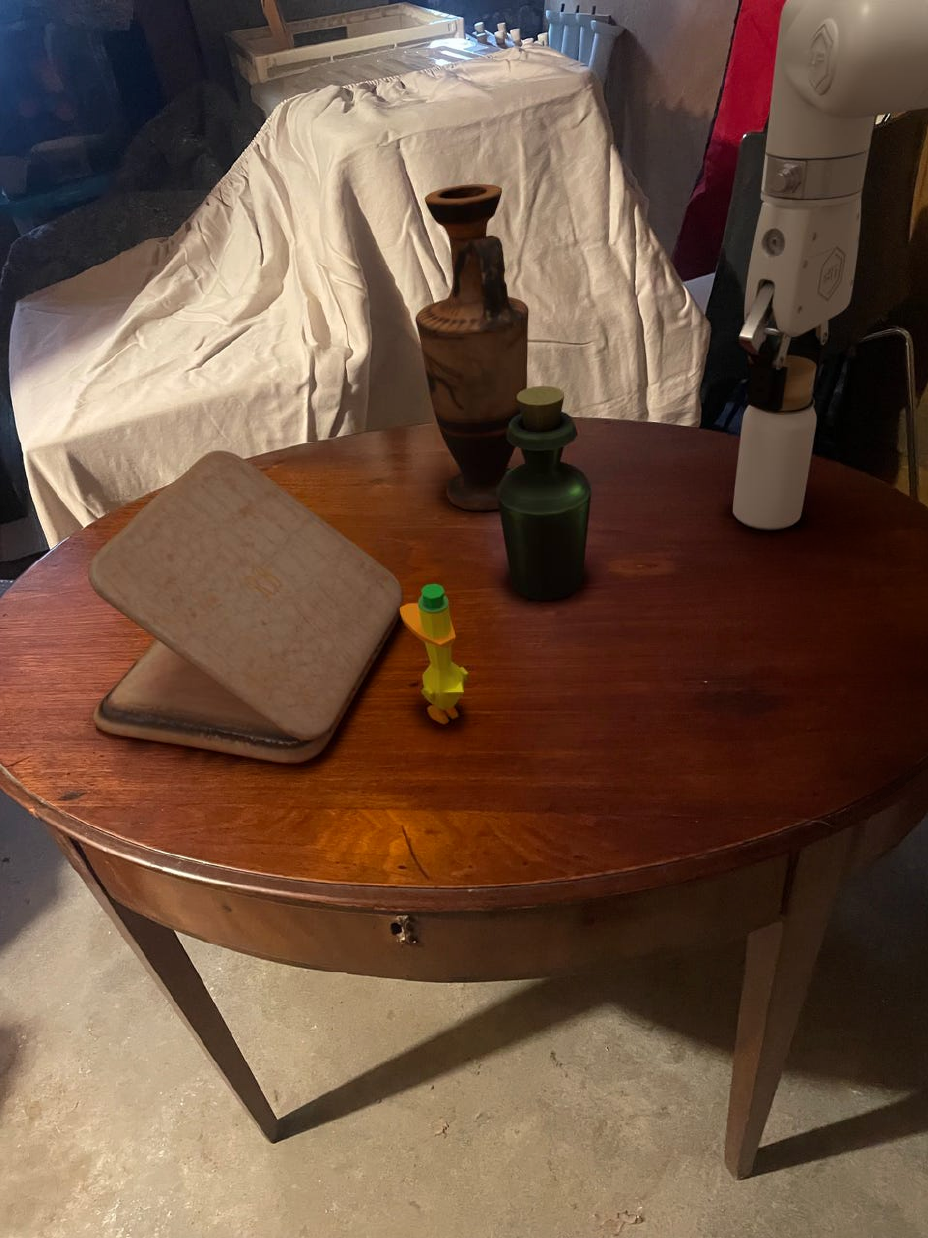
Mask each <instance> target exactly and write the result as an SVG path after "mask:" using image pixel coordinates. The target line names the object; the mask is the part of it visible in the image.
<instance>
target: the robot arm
mask: <svg viewBox="0 0 928 1238" xmlns="http://www.w3.org/2000/svg"><path fill="white" fill-rule="evenodd" d="M779 18H780V19H779V26H778V36H777V44H776V53H775V61H774V62H775V63H774V71H773V80H772V89H771V90H772V91H771V97H770V98H771V99H770V108H769V116H768V124H767V125H768V127H767V135H766V143H765V144H766V145H765V153H764V163H763V172H762V179H761V180H762V181H761V189H760V190H761V191H760V200H761V201H763V202H762V203H761V208H760V212H759V215H758V220H757V224H756V230H755V233H754V238H753V244H752V249H751V255H750V260H749V266H748V273H747V280H746V288H745V295H744V296H745V297H744V310H743V311H744V313H743V314H744V316H743V317H744V324H743V326H742V328H741V331H740V333H739V335H738V343H739V344H740V345H741V346H742V347H743V348H744V349H745V352H746V353H747V355H748V357H747V361H748V364H750V370H749V378H748V387H747V396H746V404H747V405H748V406H749V405H750V406H754V407H757V408H761V409H765V410H768V411H772V412H778V411H779V410H781V409H782V404H783V397H784V390H785V383H786V376H787V369H788V367H785V366H783V364H784V360H785V357H786V355H794V356H799V357H804V358H807V359H810V360H812V361H813V362H814V363H815V364H816V373H815V379H814V386H813V390H815V389H816V388H817V387H818V383H819V378H820V371H821V365H822V359H823V358H822V357H823V353H824V347H825V346H824V345H825V344H826V343H827V340H828V337H829V325H830V323H831V321H832V320H833V318H834V317H836V316H838V315H839V314H841V313H842V312H843V311H845V310H846V309H847V308H848V306H849V305H850V303H851V300H852V295H853V288H854V283H855V282H854V280H855V274H856V268H857V267H856V266H857V259H858V251H859V243H860V233H861V218H862V193H863V188H864V182H865V176H866V170H867V166H868V165H867V164H868V159H869V153H870V147H871V143H872V135H873V130H874V126H875V125H874V124H875V120H876V117H878V116H884V115H885V116H886V115H894V114H898V113H902V112H910V111H916V110H924V109H928V0H785V2H784V4H783V5H782V9H781V14H780V17H779ZM771 321H773V322H775V324H776V327H773V326H769V322H771ZM767 336H771V337H775V338H777V340H776V345H775V348H774V346H773V344H772V343H771V342H770V341H766V339H767ZM792 338H793V339H792Z"/></svg>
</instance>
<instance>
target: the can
mask: <svg viewBox="0 0 928 1238" xmlns="http://www.w3.org/2000/svg"><path fill="white" fill-rule="evenodd" d="M815 402H816V401H815V399H814V397H813V396H812V398H811V402H810V404H809V405H808V406H806V407H804V408H801V409H798V410H792V411H778V412H772V411H768V410H765V409H761V408H757V407H754V406H750V405H748V406H747V407H746V409H745V411H744V412H743V416H742V421H741V429H740V439H739V446H738V447H739V448H738V455H737V456H738V457H737V464H736V474H735V484H734V494H733V504H732V514H733V516H734V517H735V518H736V519H737V520H738V522H740V523H741V524H742V525H744V526H747V527H749V528H751V529H755V530H761V531H780V530H784V529H787V528H790V527H792V526H793V525H795V524H796V523H797V522H798V521H799V520H800V519H801V516H802V512H803V508H804V507H803V506H804V501H805V495H806V489H807V483H808V477H809V472H810V465H811V458H812V453H813V447H814V440H815V433H816V427H817V421H818V420H817V419H818V418H817V414H816V410H815V408H814V406H815V404H816V403H815Z"/></svg>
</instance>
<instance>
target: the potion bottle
mask: <svg viewBox="0 0 928 1238" xmlns="http://www.w3.org/2000/svg"><path fill="white" fill-rule="evenodd" d="M517 400H518V403H519V407H520V411H521V414H519V415H517V416H515V417H514V418H513V419H512V420H511V422H510V423H509V427H508V430H507V434H506V436H507V441H508V442H509V443H511V444H512V445H513V446H515V448H519V449H520V451H521V454H522V457H523V460H524V463H522V464H519V465H516V466H515V467H514V468H511V469H512V470H510V471H508V472H507V473H506V474H505V476H504V477H503V479H502V480H501V482H500V484H499V486H498V488H497V498H498V504H499V509H498V510H499V516H500V522H501V527H502V533H503V534H502V535H503V539H504V540H503V541H504V546H505V552H506V558H507V564H508V570H509V576H510V577H509V578H510V582H511V583H510V584H511V586H512V587H513V589H515V591H517V593H518V594H520V595H522V596H524V597H526V598H528V599H531V600H536V601H554V600H559V599H562V598H565V597H568V596H570V595H571V594H572V593H574V592H575V591H577V589H579V588H580V586H581V583H582V581H583V579H584V578H583V577H584V570H585V569H584V567H585V558H586V548H587V538H588V529H589V519H590V509H591V501H592V500H591V499H592V487H591V485H590V481H589V479H588V478H587V476H586V475H585V473H584V472H583V471H582V470H581V469H579V468H578V467H577V466H575V465H572V464H569V463H567V462H563V461H561V460H562V458H563V457H562V456H563V453H564V449H565V446H567V445H570V444H571V443H573V442H575V440H576V438H577V437H578V436H579V433H578V430H577V427H576V424H575V421H574V419H573V417H572V415H570V414H568V413H567V412H564V411H562V410H563V405H564V402H565V401H564V400H565V392H564V390H562V389H561V388H559V387H555V386H552V385H551V386H550V385H538V386H531V387H527V389H524V390H522V391H521V392H519V393H518V395H517Z"/></svg>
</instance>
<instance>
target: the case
mask: <svg viewBox="0 0 928 1238" xmlns="http://www.w3.org/2000/svg"><path fill="white" fill-rule="evenodd" d="M87 576H88V581H89V584H90V586H91V588H92V590H93V591H94V592H95V593H96V595H97V596H98V597H100V598H101V599H102V600H103V601H104V602H106V603H107V604H108V605H110V606H111V607H112V608H113V609H115V610H116V611H117V612H119V613H120V614H121V615H123V616H124V617H125V618H127V619H128V620H130V621H131V622H133V623H134V624H136V625H137V626H138V627H140V628H141V629H142V630H144V631H145V632H146V633H148V634H149V635H150V636H152V637H153V638H154V640H153V641H152V642H151V644H149V646H148V647H147V649H146V648H145V650H144V651H143V653H142V654H141V655H140V656H139V657H138V658H137V659H136V660H135V662H134V663H133V664H132V665H131V666H130V667H129V668H128V670H127V671H125V673H124V674H123V675H122V676H121V677H120V678H119V679H118V681H117V682H116V683H115V684H114V685H113V686H112V687H111V689H109V691H107V693H106V694H105V695H104V696H103V697H102V698H101V700H100V701H99V702H98V703H97V705H96V707H95V708H94V710H93V714H92V720H93V723H94V725H95V726H96V727H97V728H98V729H100V730H101V731H103V732H105V733H107V734H112V735H115V736H121V737H128V738H134V739H140V740H144V741H145V740H146V741H152V742H158V743H167V744H171V745H179V746H184V747H191V748H195V749H203V750H208V751H213V752H219V753H224V754H229V755H234V756H241V757H245V758H250V759H255V760H261V761H267V762H272V763H278V764H299V763H303V762H304V763H305V762H307V761H309V760H311V759H312V760H313V758H315V757H317V756H318V755H319V754H321V753H322V751H324V750H325V748H326V747H327V745H328V744H329V742H330V741H331V739H332V737H333V735H334V734H335V732H336V729H337V728H338V726H339V724H340V722H341V721H342V719H343V717H344V715H345V714H346V712H347V710H348V708H349V707H350V705H351V703H352V701H353V699H354V697H355V696H356V694H357V692H358V691H359V688H360V686H361V684H363V681H364V680H365V678H366V677H367V674H368V673H369V671H370V669H371V668H372V666H373V664H374V662H375V661H376V658H377V657H378V655H379V653H380V652H381V651H382V648H383V646H384V644H385V643H386V641H387V640H388V638H389V636H390V635H391V634H392V631H393V630H394V628H395V626H396V624H397V622H398V620H399V617H400V607H402V602H403V588H402V587H401V584H400V582H399V580H398V579H397V577H396V576H395V575H394V574H393V573H392V572H391V571H390V570H389V569H387V568H386V567H385V566H383V565H382V564H381V563H380V562H378V561H377V560H376V559H375V558H373V557H371V556H370V555H369V554H368V553H366V552H365V551H364V550H362V549H361V548H360V547H359V546H357V545H356V544H355V543H353V542H352V540H350V539H348V538H347V537H346V536H345V535H343V534H342V533H341V532H339V531H338V529H337V530H336V529H335V528H334V527H333V526H332V525H330V524H329V523H328V522H326V521H325V520H324V519H323V518H322V517H321V516H319V515H318V514H316V513H315V512H313V511H312V510H311V509H309V507H307V506H306V505H305V504H303V503H301V501H300V500H298V499H297V498H295V497H294V496H293V495H292V494H291V493H289V492H287V490H285V489H284V488H283V487H281V486H280V485H279V484H277V483H276V482H275V481H273V480H272V479H271V478H269V477H268V476H267V475H266V474H264V473H263V472H262V471H261V470H259V469H258V468H257V467H255V466H254V464H252V463H250V462H249V461H247V460H246V459H244V458H242V457H241V456H239V455H238V454H236V453H234V452H232V451H231V452H230V451H227V450H213V451H209V452H208V453H206V454H205V455H203V456H202V457H201V458H199V459H198V460H197V461H196V462H195V463H194V464H193V465H192V466H190V467H189V468H188V469H187V470H186V471H185V472H184V473H183V474H181V475H180V476H179V477H178V478H175V480H174V481H172V482H171V483H170V484H168V485H167V486H166V487H165V488H164V489H163V490H161V491H160V492H159V493H157V495H155V496H154V497H153V498H152V499H151V500H150V501H149V502H148V503H146V504H145V505H144V506H143V508H141V509H140V510H139V511H138V512H137V514H136V515H134V517H132V519H131V521H129V522H128V524H126V525H125V526H124V527H123V528H122V529H121V530H120V531H119V532H118V533H116V534H115V535H114V536H113V537H112V538H111V539H109V540H108V541H107V542H106V543H105V544H104V545H103V546H102V547H101V548H100V549H99V550H98V551H97V552H96V553H95V555H94V556H93V557H92V558H91V561H90V562H89V565H88V569H87Z"/></svg>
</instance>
